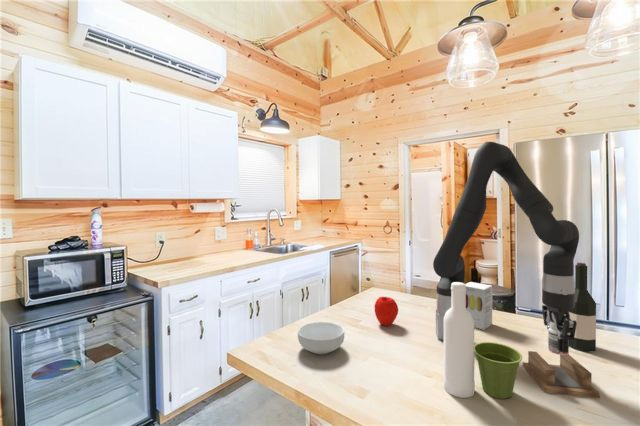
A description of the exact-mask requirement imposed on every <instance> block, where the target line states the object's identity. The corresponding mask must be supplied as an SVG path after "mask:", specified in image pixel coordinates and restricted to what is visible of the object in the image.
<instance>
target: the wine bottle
mask: <svg viewBox="0 0 640 426" xmlns="http://www.w3.org/2000/svg"><path fill="white" fill-rule="evenodd" d="M574 268H575V269H574V275H575V276H574V281H575V307H574V308H572V309H570V310H569V315H570V319H571V320H574V321H576V322H577V325H576V331H575V336H574V340H569V348H571V349H573V350H576V351H582V352H585V353H592V352H596V351H597V350H596V348H597V347H596V345H597V343H596V341H597V340H596V339H597V303H596V301H595V299H594V298H593V297H592V295H591V294H590V293H591V292H589V291H588V265H587V264H586V263H585V262H576V264H574ZM569 334H570V333H569Z"/></svg>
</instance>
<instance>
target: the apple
mask: <svg viewBox="0 0 640 426" xmlns="http://www.w3.org/2000/svg"><path fill="white" fill-rule="evenodd" d="M374 313H375V316H376V319H377V321H378V322H379V324H380V325H381V326H384V327H390V326H391V325H392V324H393V323H394V322H395V320H396V319H397V317H398V314H399V306H398V304H397V302H396V300H395V299H394V298H391V297H387V296H379V297H378V298H377V299H376V301H375V303H374Z"/></svg>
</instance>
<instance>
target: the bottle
mask: <svg viewBox="0 0 640 426" xmlns="http://www.w3.org/2000/svg"><path fill="white" fill-rule="evenodd" d="M465 284H466V283H465V282H464V283H461V282H453V283H452V284H451V308H450V309H449V310H448V311H447V312H446V313H445V316H444V340H443V378H442V379H443V388H444V391H446V392H447V393H448V394H450V395H451V396H454V397H456V398H461V399H462V398H463V399H466V398H467V399H468V398H471V397H473V396H474V394H475V386H476V385H475V352H474V345H475V327H474V321H473V318H472V315H471V314H470V313H469V312H468V311H467V310H466V285H465Z"/></svg>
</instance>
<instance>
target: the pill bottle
mask: <svg viewBox="0 0 640 426" xmlns="http://www.w3.org/2000/svg"><path fill="white" fill-rule="evenodd" d="M558 326H559V325H558ZM559 327H563V326H559ZM547 333H548V335H547V337H548V340H547V342H548V343H547V344H548V345H547V347H548V351H549V352H550V353H552V354H555V355H559V356H560V355H568V354H569V353H570V347H569V340H568V352H560V351H559V350H558V333H557V330H556V329H555V326H554V323H553V322H552V321H550V328H549V329H547ZM561 333H562V330H561ZM569 355H570V354H569Z"/></svg>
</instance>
